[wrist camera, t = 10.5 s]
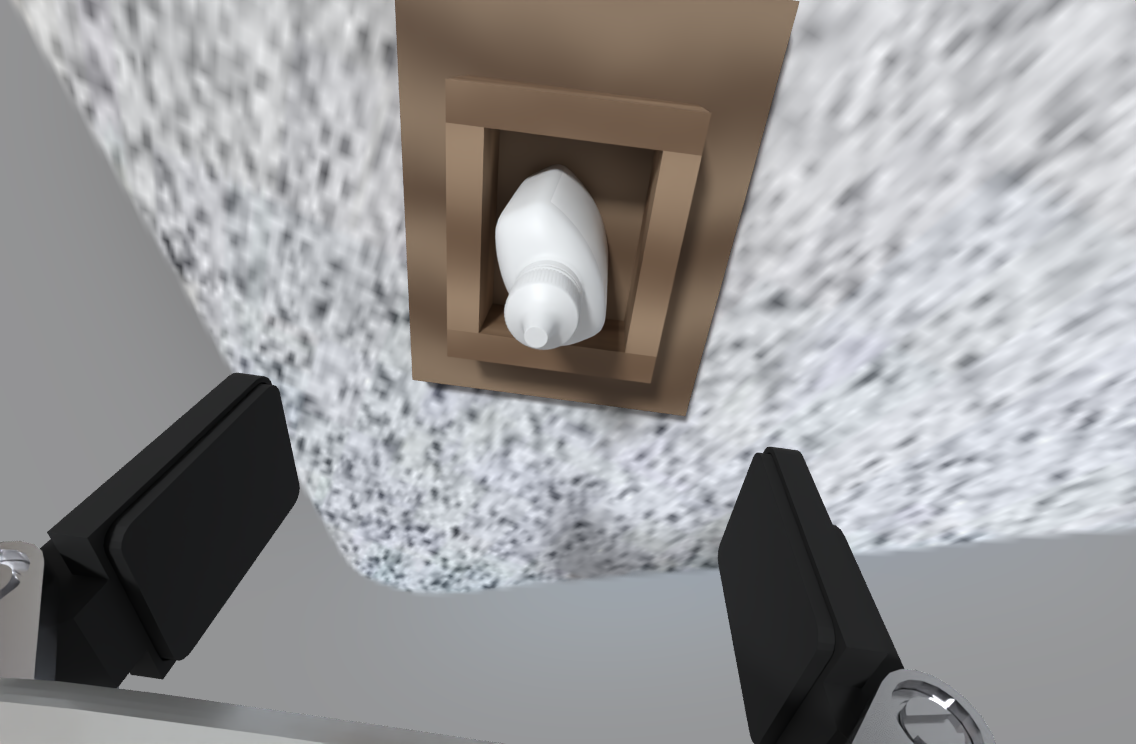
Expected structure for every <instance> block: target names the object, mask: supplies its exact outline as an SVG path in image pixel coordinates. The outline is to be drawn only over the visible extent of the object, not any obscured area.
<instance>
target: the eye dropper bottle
mask: <svg viewBox="0 0 1136 744" xmlns="http://www.w3.org/2000/svg"><path fill="white" fill-rule="evenodd" d="M495 239H496V251H497V258H498V263H499V267H500V271H501V275H502V278H503V281H504V284H505V286H506V289H507V291H508V293H509V296H508V298H507V300H506V304H505V308H504V314H505V315H504V317H505V321H506V325H507V328H508V329H509V331H510V332H511V334H512V335H513V337H515V338H516V340H518V341H519V342H521V343H522V344H524V345H525V346H528V347H531V348H532V349H533V348H535V349H539V350H541V349H542V350H545V349H546V350H548V349H552V348H554V349H555V348H556V347H559V346H566V345H571V344H574V343H577V342H580V341H583V340H585V339H588V338H590V337H592V336H594V335H596V334H597V333H598V332H600V331H601V329H602V327H603V325H604V322H605V317H606V305H607V282H608V244H607V237H606V232H605V228H604V224H603V221H602V218H601V215H600V212H599V210H598V208H597V206H596V204H595V202H594V200H593V198H592V197H591V195H590V193H589V192H588V190H587V189H586V188H585V186H584V185H583V184H582V182H581V181H580V180H579V179H578V178H577V177H576V176H575V175H574V174H573V173H572V172H571V171H570V170H569V169H568V168H567V167H565V166H563V165H560V164H557V165H552V166H550V167H547V168H545V169H543V170H541V171H539V172H537V173H534V174H533V175H531V176H529V177H527V178H526V179H525V180H524V181H523V182H522V184H521V185H520V186H519V188H518V189H517V191H516V192H515V194H514V195H513V197H512V198H511V200H510V201H509V203H508V204H507V206H506V207H505V209H504V210H503V212H502V213H501V215H500V217H499V219H498V222H497V225H496V230H495Z"/></svg>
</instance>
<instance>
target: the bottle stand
mask: <svg viewBox="0 0 1136 744" xmlns="http://www.w3.org/2000/svg"><path fill="white" fill-rule="evenodd" d="M798 5H799V1H793V0H395V12H396V34H397V55H398V77H399V98H400V120H401V141H402V163H403V184H404V206H405V227H406V249H407V270H408V292H409V313H410V335H411V356H412V378H413V380H418V381H426V382H433V383H441V384H448V385H456V386H463V387H471V388H478V389H486V390H493V391H501V392H508V393H516V394H523V395H531V396H538V397H546V398H553V399H561V400H568V401H576V402H583V403H591V404H598V405H606V406H613V407H621V408H628V409H636V410H643V411H651V412H658V413H666V414H673V415H681V416H685V415H686V412H687V408H688V405H689V401H690V397H691V394H692V390H693V386H694V383H695V379H696V376H697V372H698V368H699V365H700V361H701V357H702V354H703V350H704V346H705V343H706V339H707V336H708V332H709V328H710V325H711V321H712V317H713V314H714V310H715V306H716V303H717V299H718V296H719V292H720V288H721V285H722V281H723V277H724V274H725V270H726V267H727V263H728V259H729V256H730V252H731V248H732V245H733V241H734V237H735V234H736V230H737V227H738V223H739V219H740V216H741V212H742V208H743V205H744V201H745V198H746V194H747V190H748V187H749V183H750V179H751V176H752V172H753V168H754V165H755V161H756V158H757V154H758V150H759V147H760V143H761V139H762V136H763V132H764V128H765V125H766V121H767V118H768V114H769V110H770V107H771V103H772V99H773V96H774V92H775V89H776V85H777V81H778V78H779V74H780V70H781V67H782V63H783V59H784V56H785V52H786V49H787V45H788V41H789V38H790V34H791V30H792V27H793V23H794V20H795V16H796V12H797V9H798ZM557 164H560V165H563V166H565V167H567V168H568V169H569V170H570V171H571V172H572V173H573V174H574V175H575V176H576V177H577V178H578V179H579V180H580V181H581V182H582V184H583V185H584V186H585V188H586V189H587V190H588V192H589V193H590V195H591V197H592V198H593V200H594V202H595V204H596V206H597V208H598V210H599V212H600V215H601V218H602V221H603V224H604V228H605V232H606V237H607V244H608V282H607V305H606V317H605V322H604V325H603V327H602V329H601V331H600V332H598V333H597V334H596V335H594V336H592V337H590V338H588V339H585V340H583V341H580V342H577V343H574V344H571V345H566V346H559V347H556V348H555V349H554V348H552V349H548V350H546V349H545V350H542V349H541V350H539V349H535V348H533V349H532V348H531V347H528V346H525V345H524V344H522V343H521V342H519V341H518V340H516V338H515V337H513V335H512V334H511V332H510V331H509V329H508V328H507V325H506V321H505V317H504V315H505V314H504V308H505V304H506V300H507V298H508V296H509V293H508V291H507V289H506V286H505V284H504V281H503V278H502V275H501V271H500V267H499V263H498V258H497V251H496V239H495V230H496V225H497V222H498V219H499V217H500V215H501V213H502V212H503V210H504V209H505V207H506V206H507V204H508V203H509V201H510V200H511V198H512V197H513V195H514V194H515V192H516V191H517V189H518V188H519V186H520V185H521V184H522V182H523V181H524V180H525V179H526V178H527V177H529V176H531V175H533V174H534V173H537V172H539V171H541V170H543V169H545V168H547V167H550V166H552V165H557Z"/></svg>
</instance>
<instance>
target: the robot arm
mask: <svg viewBox="0 0 1136 744" xmlns="http://www.w3.org/2000/svg"><path fill="white" fill-rule="evenodd" d="M299 489H300V487H299V481H298V476H297V471H296V467H295V462H294V457H293V453H292V448H291V443H290V438H289V434H288V429H287V424H286V420H285V415H284V410H283V405H282V401H281V396H280V392H279V389H278V388H277V386H274V385H272V383H271V381H270V380H269V378H267V377H265V376H257V375H250V374H243V373H233V374H231V375H230V376H228V377H227V378H226V379H225V380H224V381H222V382H221V383H220V384H219V385H218V386H217V387H216V388H214V389H213V390H212V391H211V392H210V393H209V394H207V395H206V396H205V397H204V398H203V399H202V400H200V401H199V402H198V403H197V404H196V405H195V406H193V407H192V408H191V409H190V410H189V411H188V412H187V413H185V414H184V415H183V416H182V417H181V418H179V419H178V420H177V421H176V422H175V423H174V424H173V425H172V426H170V427H169V428H168V429H167V430H165V431H164V432H163V433H162V434H161V435H160V436H158V437H157V438H156V439H155V440H154V441H153V442H151V443H150V444H149V445H148V446H147V447H146V448H145V449H143V451H141V452H140V453H139V454H138V455H136V456H135V457H134V458H133V459H132V460H131V461H129V462H128V463H127V464H126V465H125V466H124V467H122V468H121V469H120V470H119V471H118V472H117V473H115V474H114V475H113V476H112V477H111V478H110V479H108V480H107V481H106V482H105V483H104V484H103V485H101V486H100V487H99V488H98V489H97V490H96V491H95V492H93V493H92V494H91V495H90V496H89V497H88V498H86V499H85V500H84V501H83V502H82V503H81V504H80V505H78V506H77V507H76V508H75V509H74V510H72V511H71V512H70V513H69V514H68V515H67V516H66V517H64V518H63V519H62V520H61V521H60V522H59V523H57V524H56V525H55V526H54V527H53V528H51V529H50V530H49V531H48V532H47V533H48V534H49V536H50V538H51V540H49V541H48V542H47V543H46V544H45V545H44V546H42V547H41V548H40V549H39V548H38V547H37V546H35V545H34V544H31V543H27V542H22V541H8V542H0V744H503V743H495V742H489V741H482V740H476V739H468V738H462V737H455V736H449V735H442V734H435V733H428V732H422V731H415V730H408V729H401V728H395V727H388V726H381V725H374V724H367V723H360V722H353V721H346V720H340V719H333V718H326V717H319V716H313V715H306V714H299V713H291V712H283V711H277V710H270V709H263V708H256V707H249V706H242V705H235V704H228V703H220V702H214V701H206V700H200V699H193V698H186V697H178V696H172V695H165V694H157V693H149V692H141V691H133V690H125V689H119V685H120V684H121V682H122V681H123V680H124V679H125V677H126V676H127V674H129V672H130V674H131V675H137V676H144V677H151V678H158V679H164V677H165V676H166V674H167V673H168V672H169V670H170V669H171V667H172V666H173V665H174V663H175V662H176V660H182V659H184V658H185V657H186V656H188V655H189V653H190V652H191V651H192V650H193V648H194V647H195V645H196V644H197V643H198V641H199V640H200V638H201V637H202V635H203V634H204V633H205V631H206V630H207V628H208V627H209V625H210V624H211V623H212V621H213V620H214V618H215V617H216V616H217V614H218V613H219V611H220V610H221V608H222V607H223V606H224V604H225V603H226V601H227V600H228V598H229V597H230V596H231V594H232V593H233V591H234V590H235V588H236V587H237V586H238V584H239V583H240V581H241V580H242V578H243V577H244V575H245V574H246V573H247V571H248V570H249V569H250V567H251V566H252V564H253V563H254V561H255V560H256V558H257V557H258V556H259V554H260V553H261V551H262V550H263V548H264V547H265V546H266V544H267V543H268V541H269V540H270V539H271V537H272V535H273V534H274V533H275V531H276V530H277V529H278V527H279V526H280V524H281V523H282V521H283V520H284V519H285V517H286V516H287V514H288V513H289V511H290V510H291V509H292V507H293V506H294V504H295V503H296V501H297V498H298V495H299ZM718 564H719V570H720V575H721V581H722V586H723V592H724V597H725V603H726V608H727V613H728V619H729V624H730V629H731V634H732V640H733V646H734V651H735V656H736V662H737V667H738V673H739V678H740V683H741V689H742V694H743V700H744V705H745V711H746V716H747V721H748V727H749V732H750V736H751V739H752V741H753V743H754V744H996V743H995V740H994V737H993V734H992V733H991V731H990V729H989V728H988V726H987V724H986V723H985V721H984V719H983V718H982V716H981V715H980V714H979V713H978V711H977V710H976V709H975V708H974V707H973V706H972V705H971V703H970V702H969V701H968V700H967V699H966V698H964V697H963V696H962V695H961V694H960V693H958V692H957V691H956V690H955V689H954V688H953V687H951V686H950V685H948V684H946V683H945V682H943V681H941V680H940V679H938V678H936V677H934V676H932V675H930V674H927V673H923V672H921V671H918V670H908V669H904V667H903V665H902V663H901V660H900V658H899V656H898V654H897V651H896V649H895V647H894V645H893V642H892V640H891V638H890V636H889V634H888V631H887V629H886V627H885V625H884V622H883V620H882V618H881V616H880V614H879V611H878V609H877V607H876V605H875V602H874V600H873V598H872V596H871V593H870V591H869V589H868V587H867V585H866V582H865V580H864V578H863V576H862V574H861V571H860V569H859V567H858V565H857V562H856V560H855V558H854V556H853V553H852V551H851V549H850V547H849V545H848V542H847V540H846V538H845V536H844V534H843V533H842V531H841V529H839V528H838V527H837V526H836V525H833V524H832V522H831V520H830V518H829V515H828V513H827V511H826V508H825V506H824V504H823V501H822V499H821V497H820V495H819V492H818V490H817V488H816V485H815V483H814V481H813V478H812V476H811V474H810V472H809V469H808V467H807V465H806V462H805V460H804V458H803V456H802V454H801V452H799V451H798V450H791V449H783V448H776V447H767V448H766V449H765V450H764V452H763V453H756V454H755V455H754V457H753V459H752V462H751V464H750V467H749V470H748V472H747V475H746V477H745V480H744V483H743V485H742V488H741V490H740V493H739V496H738V498H737V501H736V503H735V506H734V509H733V511H732V514H731V517H730V519H729V522H728V524H727V527H726V530H725V532H724V535H723V537H722V540H721V543H720V546H719V550H718Z"/></svg>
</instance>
